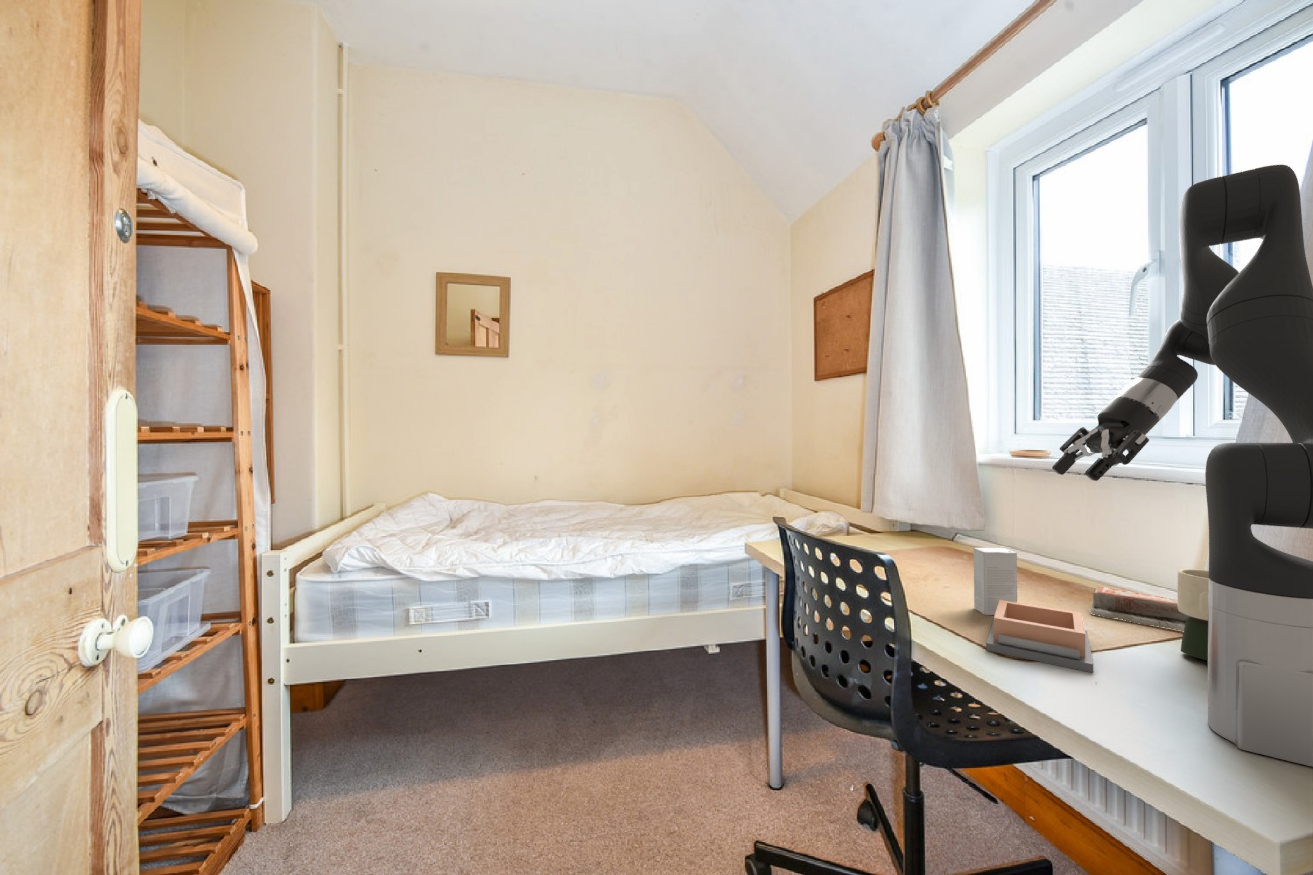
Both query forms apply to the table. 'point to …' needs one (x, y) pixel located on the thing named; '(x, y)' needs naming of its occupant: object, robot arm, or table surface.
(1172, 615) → the packaged product
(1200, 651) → the character mug
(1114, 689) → the table surface
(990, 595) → the skincare box
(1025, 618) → the open rectangular holder tray
